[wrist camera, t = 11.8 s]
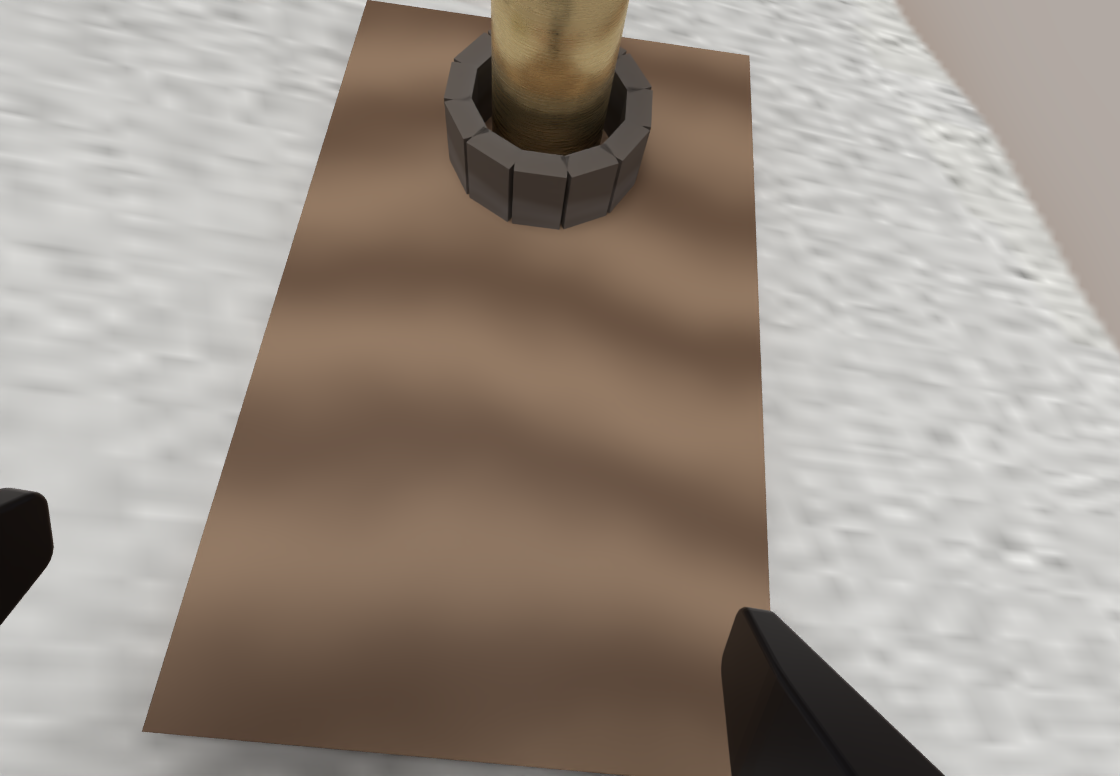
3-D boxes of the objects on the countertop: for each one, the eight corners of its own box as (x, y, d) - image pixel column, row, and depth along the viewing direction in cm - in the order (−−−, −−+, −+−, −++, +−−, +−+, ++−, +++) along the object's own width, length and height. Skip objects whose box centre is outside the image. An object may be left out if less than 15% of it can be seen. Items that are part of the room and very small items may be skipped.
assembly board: (761, 782, 20) (824, 810, 16) (162, 727, 19) (78, 743, 15) (740, 76, 32) (774, -5, 28) (372, 23, 31) (354, -68, 27)
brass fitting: (617, 153, 28) (709, -233, 16) (550, 214, 26) (596, -163, 14) (539, 98, 28) (570, -308, 17) (470, 154, 27) (449, -251, 15)
